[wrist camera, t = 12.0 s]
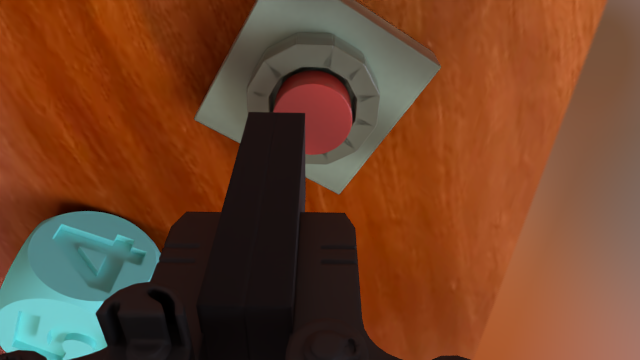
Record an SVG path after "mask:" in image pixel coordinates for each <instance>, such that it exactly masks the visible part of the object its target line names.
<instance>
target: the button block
mask: <svg viewBox="0 0 640 360" xmlns="http://www.w3.org/2000/svg"><path fill="white" fill-rule="evenodd" d="M440 68H441V66H440V64H439V62H438V60H437V58H436V56H435V54H434V53H433V52H432V51H430V50H429V49H427V48H426V47H424V46H423V45H421V44H420V43H418V42H417V41H415V40H414V39H412V38H411V37H409V36H408V35H406V34H405V33H403V32H402V31H400V30H399V29H397V28H396V27H394V26H393V25H391V24H390V23H388V22H387V21H385V20H384V19H382V18H381V17H379V16H377V15H376V14H374V13H373V12H371V11H370V10H368V9H367V8H365V7H364V6H362V5H361V4H359V3H358V2H356V1H355V0H256V1H255V3H254V5H253V7H252V9H251V11H250V12H249V14H248V16H247V18H246V20H245V22H244V24H243V26H242V27H241V29H240V31H239V33H238V35H237V37H236V39H235V40H234V42H233V44H232V46H231V48H230V50H229V52H228V54H227V55H226V57H225V59H224V61H223V63H222V65H221V67H220V68H219V70H218V72H217V74H216V76H215V78H214V80H213V81H212V83H211V85H210V87H209V89H208V91H207V93H206V95H205V96H204V98H203V100H202V102H201V104H200V106H199V108H198V111H197V113H196V115H195V117H194V120H196V121H198V122H199V123H201V124H203V125H205V126H207V127H209V128H211V129H213V130H215V131H217V132H219V133H221V134H223V135H225V136H227V137H229V138H231V139H232V140H234V141H236V142H238V143H241V139H242V135H243V132H244V128H245V124H246V121H247V117H248V113H249V112H273V111H274V105H275V100H276V95H277V92H278V90H279V88H280V87H281V85H282V84H283V83H284V82H285V81H286V80H287V79H288V78H289V77H291V76H293V75H294V74H297V73H299V72H303V71H308V70H317V71H323V72H326V73H329V74H331V75H333V76H334V77H336V78H337V79H338V80H340V81H341V82H342V83H343V85H344V86H345V87H346V89H347V91H348V93H349V96H350V101H351V109H352V127H351V130H350V133H349V135H348V136H347V138H346V139H345V140H344V142H343V143H342V144H341V145H339V146H338V147H337V148H335V149H334V150H332V151H329V152H327V153H323V154H318V155H308V154H305V177H306V178H308V179H310V180H312V181H314V182H316V183H318V184H320V185H322V186H324V187H326V188H328V189H329V190H331V191H333V192H335V193H337V194H340V193H341V192H342V190H343V189H344V188H345V187H346V185H347V184H348V183H349V182H350V180H351V179H352V178H353V177H354V175H355V174H356V173H357V172H358V170H359V169H360V168H361V167H362V165H363V164H364V163H365V162H366V160H367V159H368V158H369V157H370V155H371V154H372V153H373V152H374V150H375V149H376V148H377V147H378V145H379V144H380V143H381V142H382V140H383V139H384V138H385V137H386V135H387V134H388V133H389V132H390V130H391V129H392V128H393V127H394V125H395V124H396V123H397V122H398V121H399V119H400V118H401V117H402V116H403V114H404V113H405V112H406V111H407V109H408V108H409V107H410V106H411V104H412V103H413V102H414V101H415V99H416V98H417V97H418V96H419V94H420V93H421V92H422V91H423V89H424V88H425V87H426V86H427V84H428V83H429V82H430V81H431V79H432V78H433V77H434V76H435V74H436V73H437V72H438V71H439V69H440Z"/></svg>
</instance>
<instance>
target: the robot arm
mask: <svg viewBox="0 0 640 360" xmlns="http://www.w3.org/2000/svg"><path fill="white" fill-rule="evenodd" d="M95 314H96V316H97V319H98V322H99V324H100V327H101V330H102V332H103V335H104V338H105V341H106V343H107V347H105V348H104V349H102V350H100V351H97V352H94V353H91V354H88V355H85V356H81V357H77V358H73V359H69V360H402V359H399V358H397V357H394V356H392V355H390V354H387V353H386V352H384V351H383V350H382V349H380V348H379V347H377V346H376V345H375V344H374V342H373V341H372V340H371V339H370V338H369V336H368V335H367V333H366V331H365V329H364V325H363V321H362V312H361V299H360V286H359V273H358V259H357V250H356V233H355V227H354V226H353V224H352V223H351V222H350V220H349V219H348V217H347V216H346V214H345V213H318V212H305V113H281V112H249V113H248V117H247V121H246V124H245V128H244V132H243V135H242V139H241V143H240V146H239V150H238V154H237V157H236V161H235V164H234V168H233V172H232V175H231V179H230V183H229V186H228V190H227V194H226V197H225V201H224V205H223V208H222V212H186V213H185V214H184V215H183V216H182V217H181V218H180V219H179V220H178V221H177V222H176V223H175V224H174V225H173V226H172V227H171V229H170V231H169V234H168V237H167V239H166V242H165V247H164V248H163V249H162V252H161V254H160V257H159V263H157V265H156V267H155V270H154V272H153V275H152V278H151V280H150V282H144V283H136V284H133V285H130V286H128V287H125V288H123V289H120V290H118V291H117V292H115V293H114V294H113V295H111V296H110V297H109V298H107V299H106V300H105V301H104V302H103V304H102V305H101V306H100V308H99V309H98V310H97V312H96V313H95ZM0 360H47V358H46V357H45V356H43V355H41V354H39V353H37V352H36V351H29V350H16V351H12V352H8V353H4V354H0ZM433 360H470V359H467V358H463V357H460V356H440V357H437V358H435V359H433Z"/></svg>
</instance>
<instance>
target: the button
mask: <svg viewBox="0 0 640 360" xmlns="http://www.w3.org/2000/svg"><path fill="white" fill-rule="evenodd" d="M273 112H281V113H305V154H308V155H318V154H323V153H327V152H329V151H332V150H334V149H335V148H337V147H338V146H339V145H341V144H342V143H343V142H344V140H345V139H346V138H347V136H348V135H349V133H350V130H351V127H352V109H351V101H350V96H349V93H348V91H347V89H346V87H345V86H344V85H343V83H342V82H341V81H340V80H338V79H337V78H336V77H334V76H333V75H331V74H329V73H326V72H323V71H317V70H308V71H303V72H299V73H297V74H294V75H293V76H291V77H289V78H288V79H287V80H286V81H285V82H284V83H283V84H282V85H281V87H280V88H279V90H278V92H277V95H276V100H275V105H274V111H273Z"/></svg>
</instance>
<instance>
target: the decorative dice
mask: <svg viewBox="0 0 640 360" xmlns="http://www.w3.org/2000/svg"><path fill="white" fill-rule="evenodd" d="M160 254H161V253H160V251H159V250H158V248H157V246H156V245H155V243H154V242H153V241H152V240H151V238H150V237H149V236H148V235H147V234H146V233H145V232H143V231H142V230H141V229H140V228H138V227H137V226H135V225H134V224H132V223H131V222H129V221H127V220H125V219H123V218H121V217H118V216H115V215H112V214H108V213H103V212H95V211H78V212H70V213H65V214H61V215H58V216H54V217H51V218H49V219H46V220H44V221H42V222H41V223H40V224H39V225H38V226H37V227H36V228H35V229H34V230H33V231H32V233H31V234H30V235H29V237H28V238H27V240H26V241H25V243H24V244H23V246H22V247H21V249H20V251H19V252H18V254H17V256H16V258H15V259H14V261H13V263H12V265H11V267H10V269H9V271H8V273H7V275H6V277H5V280H4V282H3V284H2V286H1V289H0V346H1V347H2V348H3V350H4V351H5V352H6V353H8V352H12V351H16V350H29V351H36V352H37V353H39V354H41V355H43V356H45V357H46V358H47V360H69V359H73V358H77V357H81V356H85V355H88V354H91V353H94V352H97V351H100V350H102V349H104V348H105V347H107V343H106V341H105V338H104V335H103V332H102V330H101V327H100V324H99V322H98V319H97V316H96V314H95V313H96V312H97V310H98V309H99V308H100V306H101V305H102V304H103V302H104V301H105V300H106V299H107V298H109V297H110V296H111V295H113V294H114V293H115V292H117V291H118V290H120V289H123V288H125V287H128V286H130V285H133V284H136V283H144V282H150V280H151V278H152V275H153V272H154V270H155V267H156V265H157V263H159V257H160Z"/></svg>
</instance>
